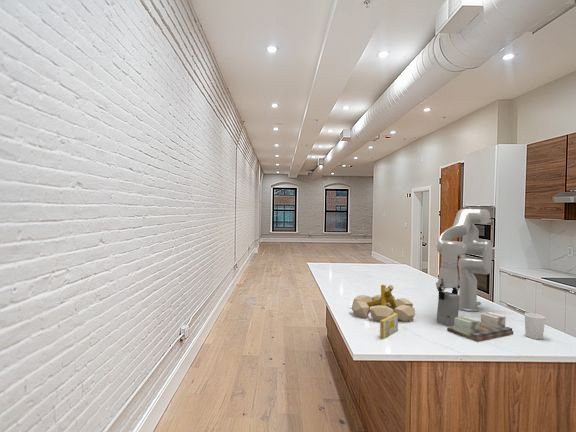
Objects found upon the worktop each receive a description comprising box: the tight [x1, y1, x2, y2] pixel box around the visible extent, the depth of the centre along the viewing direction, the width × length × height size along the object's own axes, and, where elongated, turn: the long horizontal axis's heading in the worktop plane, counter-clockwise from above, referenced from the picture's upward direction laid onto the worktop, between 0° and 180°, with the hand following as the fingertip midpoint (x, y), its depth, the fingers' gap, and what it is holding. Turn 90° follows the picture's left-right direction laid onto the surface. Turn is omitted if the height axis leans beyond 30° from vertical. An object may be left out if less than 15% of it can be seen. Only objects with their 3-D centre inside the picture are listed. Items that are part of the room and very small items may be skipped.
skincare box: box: [436, 291, 460, 327], centre depth 185 cm, size 8×7×16 cm
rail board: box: [446, 311, 514, 343], centre depth 172 cm, size 26×16×8 cm, turn 116°
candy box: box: [379, 312, 399, 340], centre depth 167 cm, size 16×2×8 cm, turn 141°
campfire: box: [351, 284, 416, 323], centre depth 201 cm, size 35×34×17 cm
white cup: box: [524, 313, 546, 340], centre depth 168 cm, size 8×8×10 cm
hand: (448, 298), depth 185 cm, fingers open, 9 cm apart
